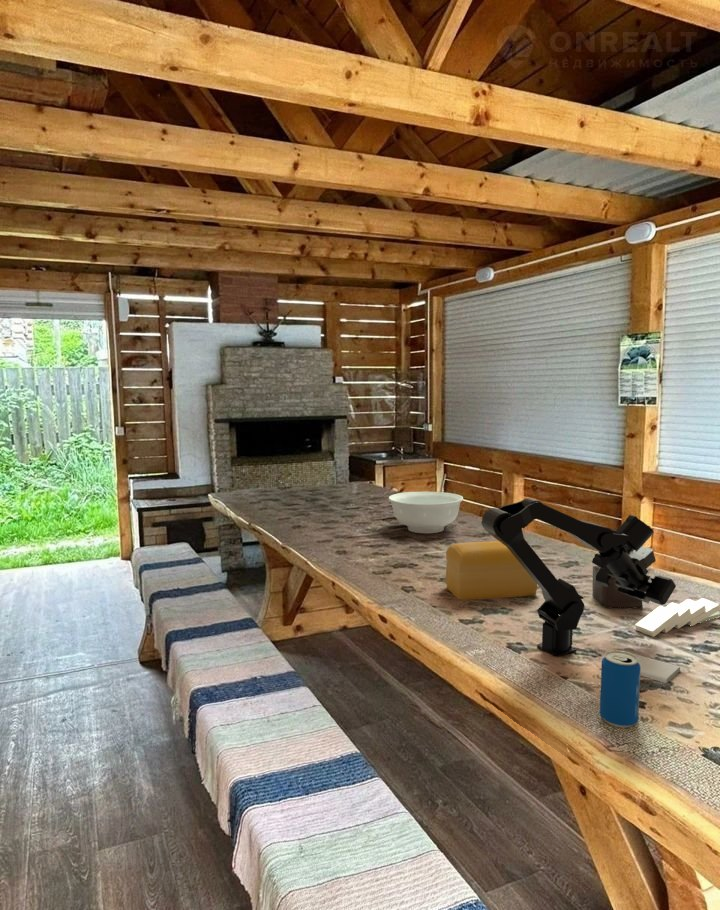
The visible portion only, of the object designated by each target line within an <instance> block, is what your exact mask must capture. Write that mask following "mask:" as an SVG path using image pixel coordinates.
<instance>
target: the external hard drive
mask: <svg viewBox="0 0 720 910" xmlns="http://www.w3.org/2000/svg"><path fill="white" fill-rule="evenodd" d="M620 651H622V652H627V653H630V654H632V655H634V656H636V657H637V658H638V663H639V664H640V677H643V678H644V677H645V678H648V679H650V680H651V679H652V680H653V681H657V682H661V683H664V684H668V683H669V682H670V681H671V680H672V679H673V678H674V677H675V676H676V675H677V674H679V673H680V672H681V666H678V665H676V664H675V665H674V664H671V663H667V662H664V661H661V660H657V659H654V658H650V657H646V656H643V655H640V654H636V653H633V652H628V651H626V650H620Z"/></svg>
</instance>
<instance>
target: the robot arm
mask: <svg viewBox="0 0 720 910" xmlns="http://www.w3.org/2000/svg"><path fill="white" fill-rule="evenodd" d="M535 520H538V521H541V522H543V523H546V524H547V525H550V526H551V527H554V528H556V529H560V530H562V531H563V532H566V533H567V534H569V535H570V536H572V537H573V538H574V539H575V540H577V541H578V542H580V543H581V544H583V545H584V546H585V547H588V548H591V549H593V550H596V551H598V553H594V557H593V558H592V560H591V563H592V564H593V565H595V566H599V567H600V569H599V570H598V572H597V574H596V575H595V580H596V581H597V583H598V584H599V585H602V586H605V587H608V586H609V585H610V584H609V583H608V581H609V580H610V578H614V579H617V581H616V583H615V585H616V586H619V588H618V591H619V592H621V593H624V594H626V595H629V596H631V597H634V598H636V599H638V600H641V601H642V603H646V604H649V603H650V602H652V603H655V604H658V605H659V606H664V605H666V604H667V603H668V600H669V599H670V597H671V595H672V594H673V593H674V590H675V589H676V587H677V585H676V583H675V582H674V580H673V579H672V578H670V577H667V576H662V575H659V574H658V575H655V576H654V577H651V576H650V575H648V573H649V570H648V568H649V567H651V565H653V564H654V563H655V562H656V556H655V552H654V549H653V548H650V547H647V546H644V545H645V544H646V543H647V541H649V540H650V538H651V537H652V536H653V535H654V533H655V532H654V530H653V528H652V526H650V525H648V524H647V523H645V522H644V521H642V520H641V519H639V518H638V517H637V516H636V515H633V514H629V515H628V517H626V519H625V520H624V521H623V523H621V525H620V526H619V527H618V528H617V529H612V528H609V527H606V526H604V525H601V524H598V523H595V522H592V521H587V520H582V519H577V518H575V517H573V516H571V515H568V514H566V513H563V512H562V511H559V510H558V509H555V508H553V507H551V506H548V505H547V504H544V503H543V502H541V500H540V501H539V500H536V499H534V498H531V497H527V498H525V499H522V500H519V501H517V502H513V503H510V504H509V503H508V504H506V505H502V506H500V507H498V508H497V507H492V508H488V509H487V510H486V511H485V512H484V513H483V515H482V517H481V526H482V527H483V530H485V531H486V532H487V533H488V534H490V535H491V536H492V537H493V538H494V539H495V540H496V541H500V542H501V543H502V544H504V545H505V546H506V547H507V548H508V549H509V550H510V551H511V553H512V554H513V555H514V556H515V558H516V559H517V560H518V561H519V562H520V564H521V565H522V566H523V567H524V568H525V570H526V571H527V572H528V573H529V575H530V576H531V577H532V578H533V579H534V581H535V582H536V583H537V587H539V588H540V590H541V594H542V596H543V597H542V598H543V599H544V602H543V603H542V604H541V605H540V606H539V607H538V608H537V610H536V612H537V614H538V617H539V619H542V620H543V621H544V622H543V623H542V629H541V630H542V637H541V638H542V639H541V643H537V644H536V647H537V648H539V649H541V650H543V651H544V652H547V653H549V654H551V655H554V656H555V657H560V656H561V657H562V656H563V655H567V654H571V653H574V652H576V651H577V648H576V647H574V646H572V645H573V632H574V631H573V630H577V628H578V625H579V622H580V621H581V617H582V616H583V613H584V609H585V607H586V606H585V603H584V601H583V599H584V597H583V596H582V595H581V594H579V593H578V591H577V589H576V587H575V586H574V585H573V584H572V583H569V582H567V581H565V580H563V579H562V578H559V577H558V579H557V577H556V576H555V575H554V574H553V572H552V571H551V570H550V568H549V567H548V566H547V565H546V564H545V563H544V561H543V560H542V559H541V558H540V557H539V555H538V554H537V553H535V552H536V551H535V550H534V549H533V548H532V546H531V545H530V544H529V543H528V542H527V540H526V538H525V536H524V533H523V529H524V528H527V526H528V525H530V524H531V523H532V522H533V521H535ZM534 551H535V552H534Z"/></svg>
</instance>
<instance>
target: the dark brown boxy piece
mask: <svg viewBox="0 0 720 910" xmlns="http://www.w3.org/2000/svg"><path fill="white" fill-rule="evenodd" d="M599 569H600V567H599V566H597V565H595V566H594V565H593V566H592V594H591V595H592V598H593V599H594V600H595V601H597V602H598V603H599V604H601V605H602V606H603V607H605V608H606V609H642V608H643V607H644V606H643V601H641V600H638V599H636V598H634V597H631V596H629V595H626V594H624V593H621V592H619V591H618V588H619V586H616V585H615V583H616V581H617V579H614V578H610V580H609V581H608V583H609V584H610V585H609V586H608V587H605V586H602V585H599V584H598V583H597V581H596V580H595V575H596V574H597V572H598V570H599ZM641 607H642V608H641Z"/></svg>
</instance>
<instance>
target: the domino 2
mask: <svg viewBox="0 0 720 910" xmlns="http://www.w3.org/2000/svg"><path fill="white" fill-rule="evenodd" d="M679 604H680V603H675V602H670V603H669V604H667V605H666V606H665V607H666V608H669V609H672V610H675V611H678V613H679V618H677V619H676V620H675V621H673V622H672V623H671V624H670V625H668V626H667V627H666V628H665V629H663V630H662V631H661V632H662V633H664V632H665V634H667V633H668V632H669V631H670V630H672V629H673V628H675V627H674V626H676V625H677V624H678V623H679V622H681V621H682V620H683V619H684V618H686V617H687V616H688V615H689V614H691V611H690V608H688V607H685V606H682V605H679Z"/></svg>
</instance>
